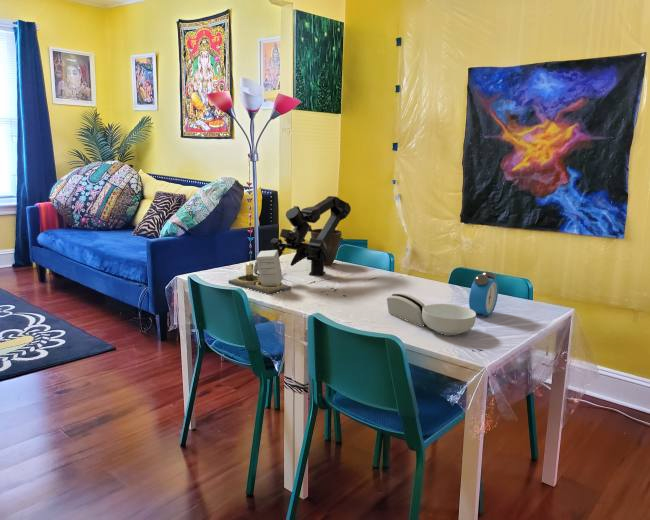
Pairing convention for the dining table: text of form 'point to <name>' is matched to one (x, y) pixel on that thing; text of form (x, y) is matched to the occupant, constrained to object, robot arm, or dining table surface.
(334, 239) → the plant pot
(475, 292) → the alarm clock
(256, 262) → the gray elephant figurine
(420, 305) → the napkin holder
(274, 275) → the supplement box
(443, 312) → the cereal bowl
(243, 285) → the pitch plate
